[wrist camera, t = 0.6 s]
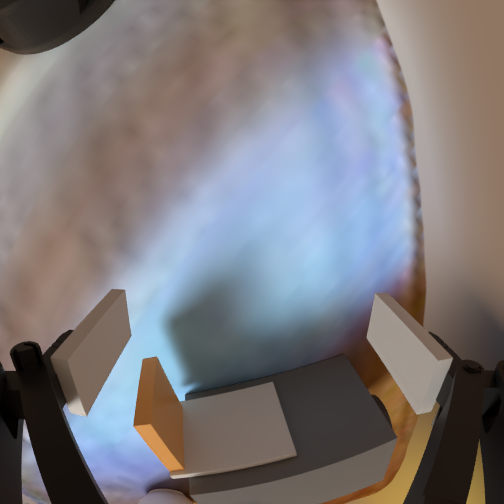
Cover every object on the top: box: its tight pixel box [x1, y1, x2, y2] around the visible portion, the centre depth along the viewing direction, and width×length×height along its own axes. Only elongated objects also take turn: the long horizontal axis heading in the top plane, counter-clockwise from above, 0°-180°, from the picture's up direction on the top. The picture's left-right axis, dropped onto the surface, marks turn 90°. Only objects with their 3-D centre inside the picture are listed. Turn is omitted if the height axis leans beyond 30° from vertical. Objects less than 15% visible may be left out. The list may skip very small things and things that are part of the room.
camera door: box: [133, 357, 297, 479], centre depth 27 cm, size 9×12×10 cm
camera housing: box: [185, 354, 397, 504], centre depth 31 cm, size 11×22×15 cm, turn 101°
